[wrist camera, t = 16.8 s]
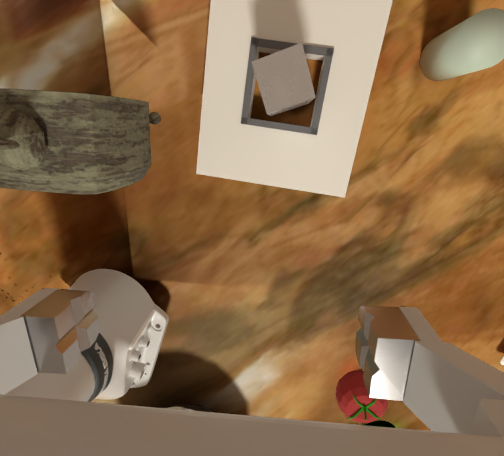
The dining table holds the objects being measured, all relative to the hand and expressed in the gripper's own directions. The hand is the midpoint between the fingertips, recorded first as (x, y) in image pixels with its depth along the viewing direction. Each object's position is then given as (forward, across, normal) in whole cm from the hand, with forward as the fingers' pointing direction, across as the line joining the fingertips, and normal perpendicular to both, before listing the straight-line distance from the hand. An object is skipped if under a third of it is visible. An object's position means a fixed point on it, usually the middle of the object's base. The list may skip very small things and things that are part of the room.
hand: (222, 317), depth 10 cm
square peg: (+37, -2, -10) cm, 38 cm away
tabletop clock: (+37, +21, -4) cm, 43 cm away
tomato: (+37, -15, +36) cm, 54 cm away
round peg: (+36, -20, -13) cm, 44 cm away
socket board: (+36, -2, -10) cm, 38 cm away
